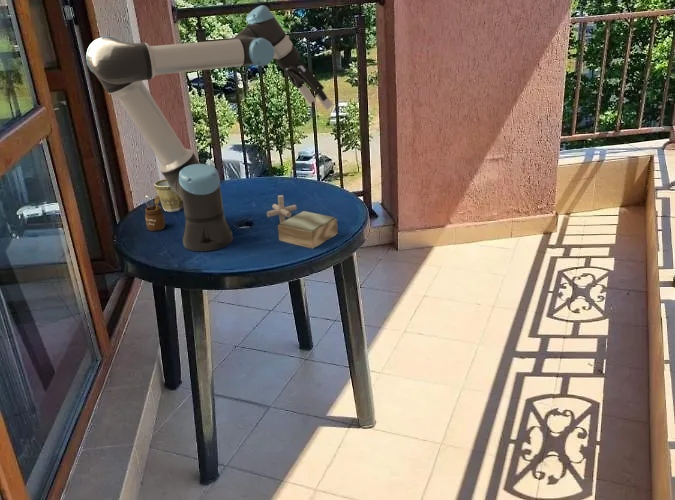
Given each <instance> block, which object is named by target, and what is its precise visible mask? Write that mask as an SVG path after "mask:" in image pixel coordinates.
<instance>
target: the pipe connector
mask: <svg viewBox="0 0 675 500" xmlns="http://www.w3.org/2000/svg"><path fill="white" fill-rule="evenodd" d="M271 208H272V209H271V210H268V211H266V216H267V217H268V218H271V217H274V216H278V217H279V224H280V223H281V222H283V221H285V220H286V218H287V219H289V218H291V217H292V212H295V211H297V209H298V208H297V205H296V204H292V205H289V206H285V201H284V195H283V194H281V195H280V194H279V195H277V204H276V203H273V204H272V207H271Z"/></svg>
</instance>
